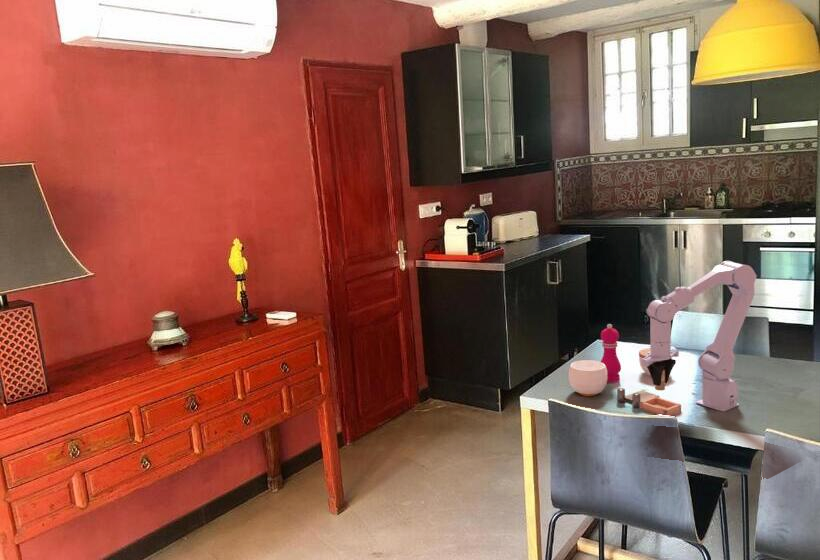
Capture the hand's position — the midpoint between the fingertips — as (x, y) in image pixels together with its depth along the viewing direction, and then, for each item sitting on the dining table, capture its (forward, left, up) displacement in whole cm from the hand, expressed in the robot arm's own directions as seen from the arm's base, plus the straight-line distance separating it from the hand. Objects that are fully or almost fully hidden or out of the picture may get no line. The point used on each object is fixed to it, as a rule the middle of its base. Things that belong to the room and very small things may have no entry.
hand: (660, 383), depth 204 cm
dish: (0, 0, -8) cm, 8 cm away
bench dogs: (+9, +3, -8) cm, 13 cm away
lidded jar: (+22, -26, -9) cm, 35 cm away
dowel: (0, 0, -2) cm, 2 cm away
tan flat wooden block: (+9, -3, -9) cm, 13 cm away
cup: (+24, +5, -9) cm, 26 cm away
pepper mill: (+28, -10, -9) cm, 31 cm away
